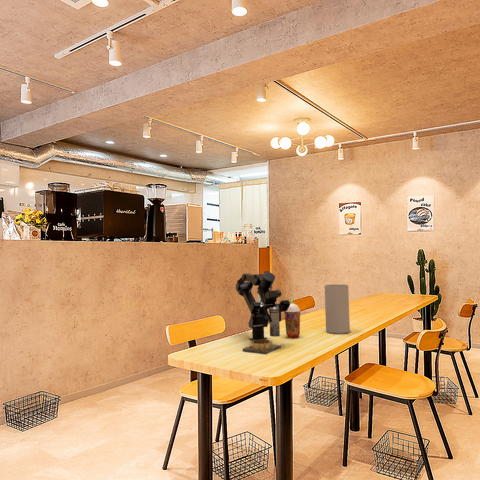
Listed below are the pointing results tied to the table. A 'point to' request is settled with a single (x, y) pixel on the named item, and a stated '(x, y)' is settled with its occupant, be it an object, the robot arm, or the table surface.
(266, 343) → the ring collar
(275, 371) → the table surface
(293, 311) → the smoothie
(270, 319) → the robot arm
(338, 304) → the cylinder vase
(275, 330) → the piston
